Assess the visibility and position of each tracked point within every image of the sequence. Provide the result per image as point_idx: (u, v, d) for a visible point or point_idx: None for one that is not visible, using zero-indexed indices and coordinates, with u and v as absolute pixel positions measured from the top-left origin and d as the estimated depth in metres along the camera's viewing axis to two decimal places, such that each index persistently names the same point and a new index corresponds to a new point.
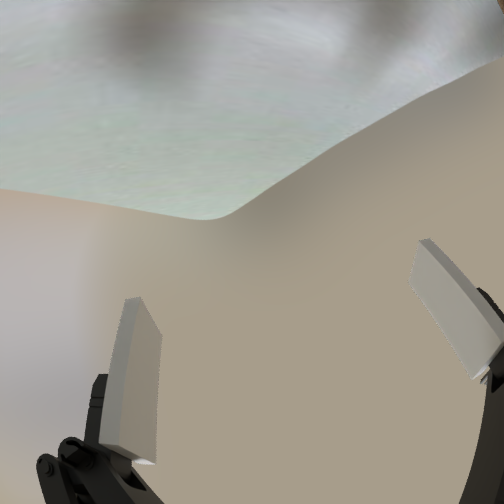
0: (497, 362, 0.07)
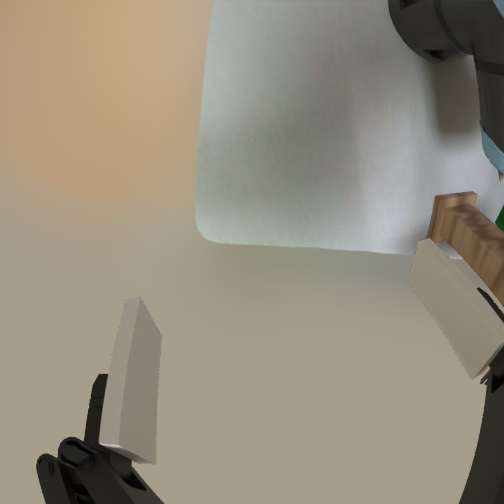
0: (497, 362, 0.07)
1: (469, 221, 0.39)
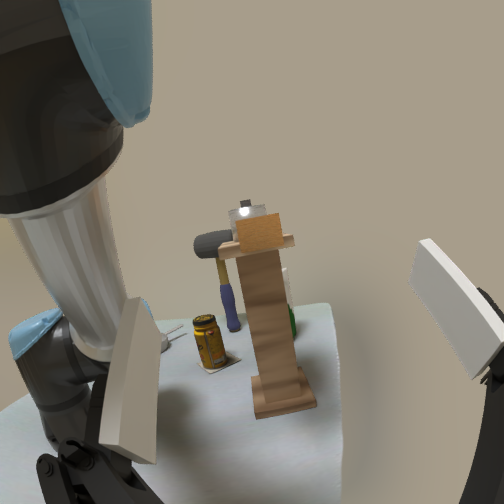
0: (497, 362, 0.07)
1: None
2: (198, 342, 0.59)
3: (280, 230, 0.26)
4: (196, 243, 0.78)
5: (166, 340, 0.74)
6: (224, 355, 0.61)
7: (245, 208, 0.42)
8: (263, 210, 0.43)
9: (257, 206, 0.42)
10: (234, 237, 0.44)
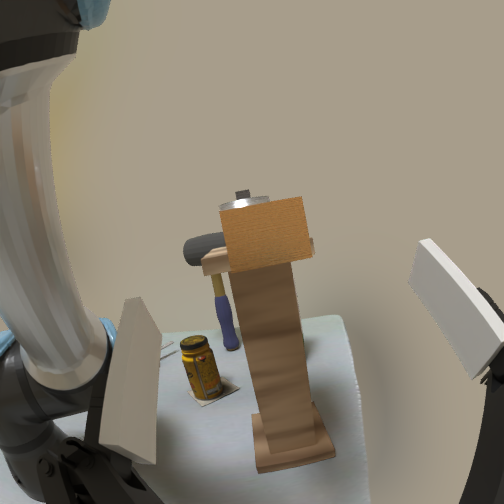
0: (497, 362, 0.07)
1: None
2: (187, 369, 0.47)
3: (305, 229, 0.13)
4: (187, 248, 0.66)
5: None
6: (219, 384, 0.49)
7: (242, 201, 0.30)
8: None
9: (259, 198, 0.30)
10: None
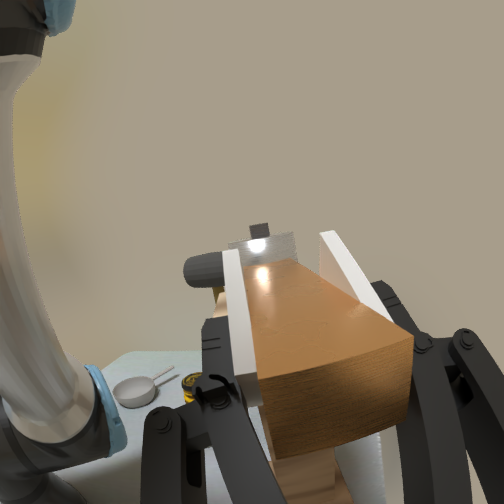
0: None
1: None
2: None
3: (406, 387, 0.06)
4: (187, 268, 0.59)
5: (152, 389, 0.55)
6: None
7: (260, 241, 0.23)
8: (292, 243, 0.24)
9: (282, 237, 0.23)
10: None
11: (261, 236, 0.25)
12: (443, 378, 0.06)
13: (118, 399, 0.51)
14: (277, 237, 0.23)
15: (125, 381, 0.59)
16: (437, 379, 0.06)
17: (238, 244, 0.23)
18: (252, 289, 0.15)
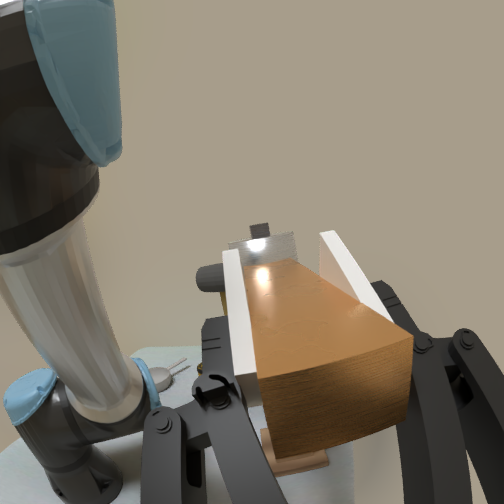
0: None
1: None
2: None
3: (406, 387, 0.06)
4: (199, 276, 0.72)
5: (169, 377, 0.68)
6: None
7: (260, 241, 0.23)
8: (292, 243, 0.24)
9: (282, 237, 0.23)
10: None
11: (261, 236, 0.25)
12: (443, 378, 0.06)
13: None
14: (277, 237, 0.23)
15: None
16: (437, 379, 0.06)
17: (238, 244, 0.23)
18: (252, 289, 0.15)
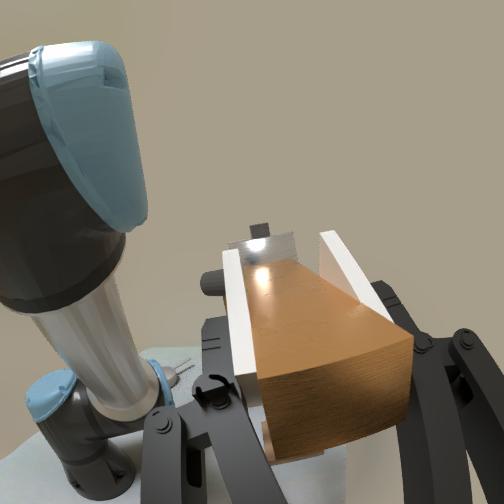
0: None
1: None
2: None
3: (406, 387, 0.06)
4: (203, 281, 0.77)
5: (175, 375, 0.73)
6: None
7: (260, 241, 0.23)
8: (292, 243, 0.24)
9: (282, 237, 0.23)
10: None
11: (261, 236, 0.25)
12: (443, 378, 0.06)
13: None
14: (277, 237, 0.23)
15: None
16: (437, 379, 0.06)
17: (238, 244, 0.23)
18: (252, 289, 0.15)
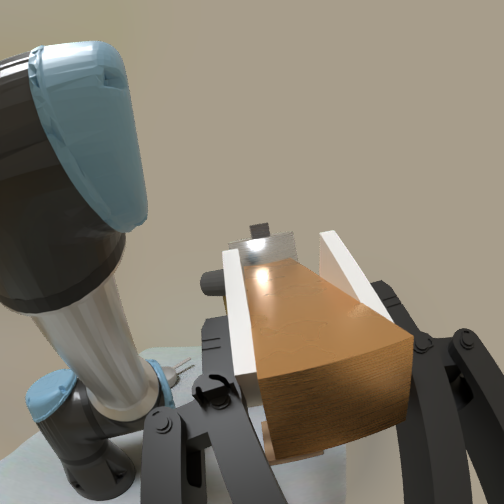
0: None
1: None
2: None
3: (406, 387, 0.06)
4: (203, 281, 0.77)
5: (175, 376, 0.73)
6: None
7: (260, 241, 0.23)
8: (292, 243, 0.24)
9: (282, 237, 0.23)
10: None
11: (261, 236, 0.25)
12: (443, 378, 0.06)
13: None
14: (277, 237, 0.23)
15: None
16: (437, 379, 0.06)
17: (238, 244, 0.23)
18: (252, 289, 0.15)
